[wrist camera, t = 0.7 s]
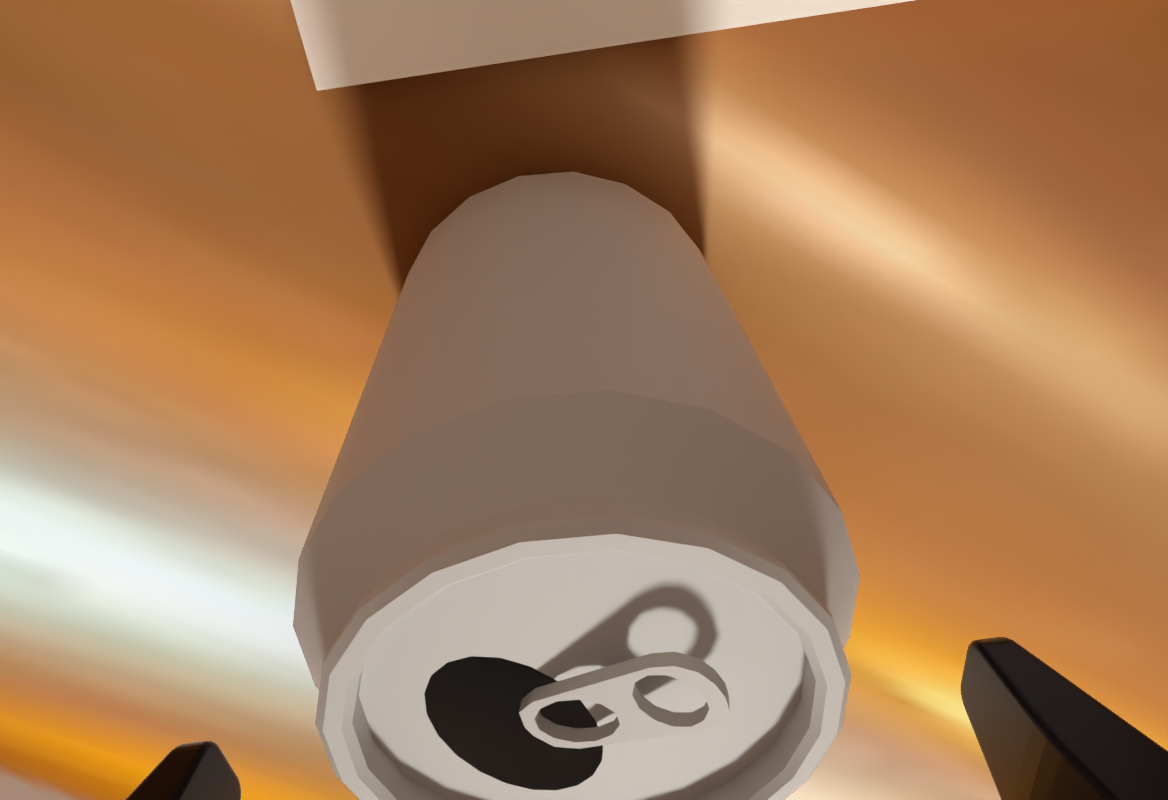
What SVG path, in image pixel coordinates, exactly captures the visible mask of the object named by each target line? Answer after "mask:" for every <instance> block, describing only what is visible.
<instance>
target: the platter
mask: <svg viewBox="0 0 1168 800" xmlns="http://www.w3.org/2000/svg"><path fill="white" fill-rule="evenodd" d="M290 1H291V4H292V8H293V11H294V15H295V18H296V21H297V25H298V28H299V32H300V35H301V38H302V42H303V45H304V48H305V52H306V55H307V59H308V62H309V65H310V69H311V72H312V76H313V79H314V82H315V86H316V89H317V91H320V90H326V89H333V88H339V87H346V86H353V85H359V84H366V83H372V82H379V81H385V80H392V79H399V78H405V77H412V76H418V75H425V74H432V73H438V72H445V71H451V70H458V69H465V68H471V67H478V66H484V65H491V64H498V63H504V62H511V61H517V60H524V59H531V58H537V57H544V56H550V55H557V54H564V53H570V52H577V51H583V50H590V49H597V48H603V47H610V46H616V45H623V44H630V43H636V42H643V41H649V40H656V39H663V38H669V37H676V36H682V35H689V34H696V33H702V32H709V31H715V30H722V29H729V28H735V27H742V26H748V25H755V24H761V23H768V22H775V21H781V20H788V19H794V18H801V17H808V16H814V15H821V14H827V13H834V12H841V11H847V10H854V9H860V8H867V7H874V6H880V5H887V4H893V3H900V2H907V1H913V0H290Z"/></svg>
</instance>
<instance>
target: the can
mask: <svg viewBox="0 0 1168 800" xmlns="http://www.w3.org/2000/svg"><path fill="white" fill-rule="evenodd" d="M859 577H860V574H859V570H858V567H857V564H856V560H855V557H854V553H853V550H852V546H851V543H850V539H849V536H848V532H847V529H846V525H845V522H844V518H843V515H842V511H841V509H840V507H839V506H838V504H837V502H836V500H835V498H834V496H833V495H832V493H831V491H830V489H829V487H828V485H827V483H826V482H825V480H824V478H823V476H822V474H821V472H820V471H819V469H818V467H817V465H816V463H815V461H814V460H813V458H812V456H811V454H810V452H809V450H808V448H807V447H806V445H805V443H804V441H803V439H802V437H801V436H800V434H799V432H798V430H797V428H796V426H795V425H794V423H793V421H792V419H791V417H790V415H789V413H788V412H787V410H786V408H785V406H784V404H783V402H782V401H781V399H780V397H779V395H778V393H777V391H776V390H775V388H774V386H773V384H772V382H771V380H770V379H769V377H768V375H767V373H766V371H765V369H764V367H763V366H762V364H761V362H760V360H759V358H758V356H757V355H756V353H755V351H754V349H753V347H752V345H751V344H750V342H749V340H748V338H747V336H746V334H745V332H744V331H743V329H742V327H741V325H740V323H739V321H738V320H737V318H736V316H735V314H734V312H733V310H732V309H731V307H730V305H729V303H728V301H727V299H726V297H725V296H724V294H723V292H722V290H721V288H720V286H719V285H718V283H717V281H716V279H715V277H714V275H713V274H712V272H711V270H710V268H709V266H708V264H707V263H706V261H705V259H704V257H703V255H702V253H701V251H700V250H699V248H698V247H697V246H696V245H695V243H694V242H693V241H692V240H691V238H690V237H689V236H688V235H687V233H686V232H685V231H684V230H683V228H682V227H681V226H680V225H679V223H678V222H677V221H676V219H675V218H674V217H673V216H672V214H671V213H670V212H669V211H667V210H666V209H664V208H663V207H661V206H660V205H658V204H656V203H655V202H653V201H652V200H650V199H648V198H647V197H645V196H644V195H642V194H640V193H639V192H637V191H636V190H634V189H633V188H631V187H629V186H628V185H626V184H623V183H619V182H615V181H611V180H606V179H602V178H598V177H594V176H590V175H586V174H581V173H577V172H561V173H549V174H537V175H525V176H518V177H515V178H513V179H511V180H508V181H506V182H504V183H501V184H499V185H496V186H494V187H492V188H489V189H487V190H485V191H482V192H480V193H478V194H475V195H473V196H471V197H469V198H468V199H467V200H466V201H464V202H463V203H462V204H461V205H460V206H459V207H458V208H457V209H455V210H454V211H453V212H452V213H451V214H450V215H449V216H448V217H447V218H445V219H444V220H443V221H442V222H441V223H440V224H439V225H438V226H437V227H435V228H434V229H433V230H432V231H431V232H430V234H429V236H428V238H427V240H426V242H425V244H424V245H423V247H422V249H421V251H420V253H419V255H418V257H417V258H416V260H415V262H414V264H413V266H412V268H411V269H410V271H409V273H408V275H407V278H406V281H405V283H404V286H403V288H402V291H401V294H400V296H399V299H398V301H397V304H396V307H395V309H394V312H393V315H392V317H391V320H390V322H389V325H388V328H387V330H386V333H385V335H384V338H383V341H382V343H381V346H380V348H379V351H378V354H377V356H376V359H375V362H374V364H373V367H372V369H371V372H370V375H369V377H368V380H367V382H366V385H365V388H364V390H363V393H362V396H361V398H360V401H359V403H358V406H357V409H356V411H355V414H354V416H353V419H352V422H351V424H350V427H349V429H348V432H347V435H346V437H345V440H344V443H343V445H342V448H341V450H340V453H339V456H338V458H337V461H336V463H335V466H334V469H333V471H332V474H331V477H330V479H329V482H328V484H327V487H326V490H325V492H324V495H323V497H322V500H321V503H320V505H319V508H318V510H317V513H316V516H315V518H314V521H313V524H312V526H311V529H310V531H309V534H308V537H307V539H306V542H305V544H304V547H303V550H302V552H301V555H300V557H299V563H298V575H297V587H296V598H295V610H294V622H293V627H294V630H295V632H296V635H297V638H298V640H299V643H300V646H301V649H302V651H303V654H304V657H305V659H306V662H307V665H308V667H309V670H310V673H311V675H312V678H313V681H314V683H315V686H316V687H317V688H318V689H319V697H318V706H317V714H316V726H317V728H318V731H319V733H320V736H321V739H322V741H323V744H324V746H325V749H326V752H327V754H328V757H329V759H330V762H331V764H332V767H333V770H334V772H335V775H336V776H337V777H338V778H339V779H340V780H341V781H342V782H343V783H344V784H345V785H346V786H347V787H348V788H349V789H350V790H351V791H352V792H353V793H354V794H355V795H356V796H357V797H358V798H359V799H360V800H785V799H786V798H787V797H788V796H790V795H791V794H792V793H793V792H794V791H796V790H797V789H798V788H799V787H800V786H802V785H803V784H804V783H805V782H806V781H807V780H808V779H809V778H810V777H811V775H812V774H813V772H814V771H815V769H816V768H817V766H818V764H819V763H820V761H821V760H822V758H823V757H824V755H825V754H826V752H827V750H828V749H829V747H830V746H831V744H832V743H833V741H834V740H835V738H836V737H837V735H838V733H839V732H840V730H841V729H842V726H843V720H844V714H845V708H846V702H847V696H848V690H849V684H850V678H851V672H850V668H849V665H848V662H847V659H846V656H845V653H844V650H843V648H844V646H845V644H846V643H847V641H848V639H849V638H850V633H851V627H852V620H853V614H854V608H855V602H856V595H857V589H858V583H859Z"/></svg>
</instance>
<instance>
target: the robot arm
mask: <svg viewBox="0 0 1168 800" xmlns="http://www.w3.org/2000/svg"><path fill="white" fill-rule="evenodd" d="M961 695H962V700H963V704H964V707H965V709H966V712H967V715H968V717H969V720H970V722H971V725H972V727H973V730H974V732H975V735H976V737H977V740H978V742H979V745H980V747H981V750H982V752H983V755H984V757H985V760H986V762H987V765H988V767H989V770H990V772H991V775H992V777H993V780H994V782H995V785H996V787H997V790H998V792H999V795H1000V797H1001V800H1168V751H1167V750H1165V749H1164V748H1162V747H1161V746H1160V745H1158V744H1157V743H1155V742H1154V741H1153V740H1151V739H1150V738H1148V737H1147V736H1146V735H1144V734H1143V733H1142V732H1140V731H1139V730H1137V729H1136V728H1135V727H1133V726H1132V725H1130V724H1129V723H1128V722H1126V721H1125V720H1123V719H1122V718H1121V717H1119V716H1118V715H1116V714H1115V713H1114V712H1112V711H1111V710H1109V709H1108V708H1107V707H1105V706H1104V705H1102V704H1101V703H1100V702H1098V701H1097V700H1096V699H1094V698H1093V697H1091V696H1090V695H1089V694H1087V693H1086V692H1084V691H1083V690H1082V689H1080V688H1079V687H1077V686H1076V685H1075V684H1073V683H1072V682H1070V681H1069V680H1068V679H1066V678H1065V677H1063V676H1062V675H1061V674H1059V673H1058V672H1057V671H1055V670H1054V669H1052V668H1051V667H1050V666H1048V665H1047V664H1045V663H1044V662H1043V661H1041V660H1040V659H1038V658H1037V657H1036V656H1034V655H1033V654H1031V653H1030V652H1029V651H1027V650H1026V649H1024V648H1023V647H1022V646H1020V645H1019V644H1017V643H1016V642H1014V641H1013V640H1011V639H1008V638H1005V637H996V638H989V639H981V640H975V641H973V642H972V643H971V644H970V645H969V647H968V650H967V655H966V660H965V666H964V671H963V676H962V682H961ZM240 799H241V788H240V783H239V780H238V777H237V776H236V774H235V772H234V771H233V769H232V767H231V766H230V764H229V763H228V761H227V759H226V758H225V756H224V754H223V753H222V751H221V750H220V748H219V746H218V745H217V744H216V743H214V742H212V741H202V742H194V743H187V744H182V745H179V746H177V747H176V748H175V749H173V750H172V751H171V752H170V753H169V754H168V755H167V756H166V757H165V758H164V759H163V760H162V761H161V762H160V763H159V764H158V765H157V767H156V768H155V769H154V770H153V771H152V772H151V773H150V774H149V775H148V776H147V777H146V778H145V779H144V780H143V782H142V783H141V784H140V785H139V786H138V787H137V788H136V789H135V790H134V791H133V792H132V793H131V794H130V795H129V797H128V798H127V799H126V800H240Z"/></svg>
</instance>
